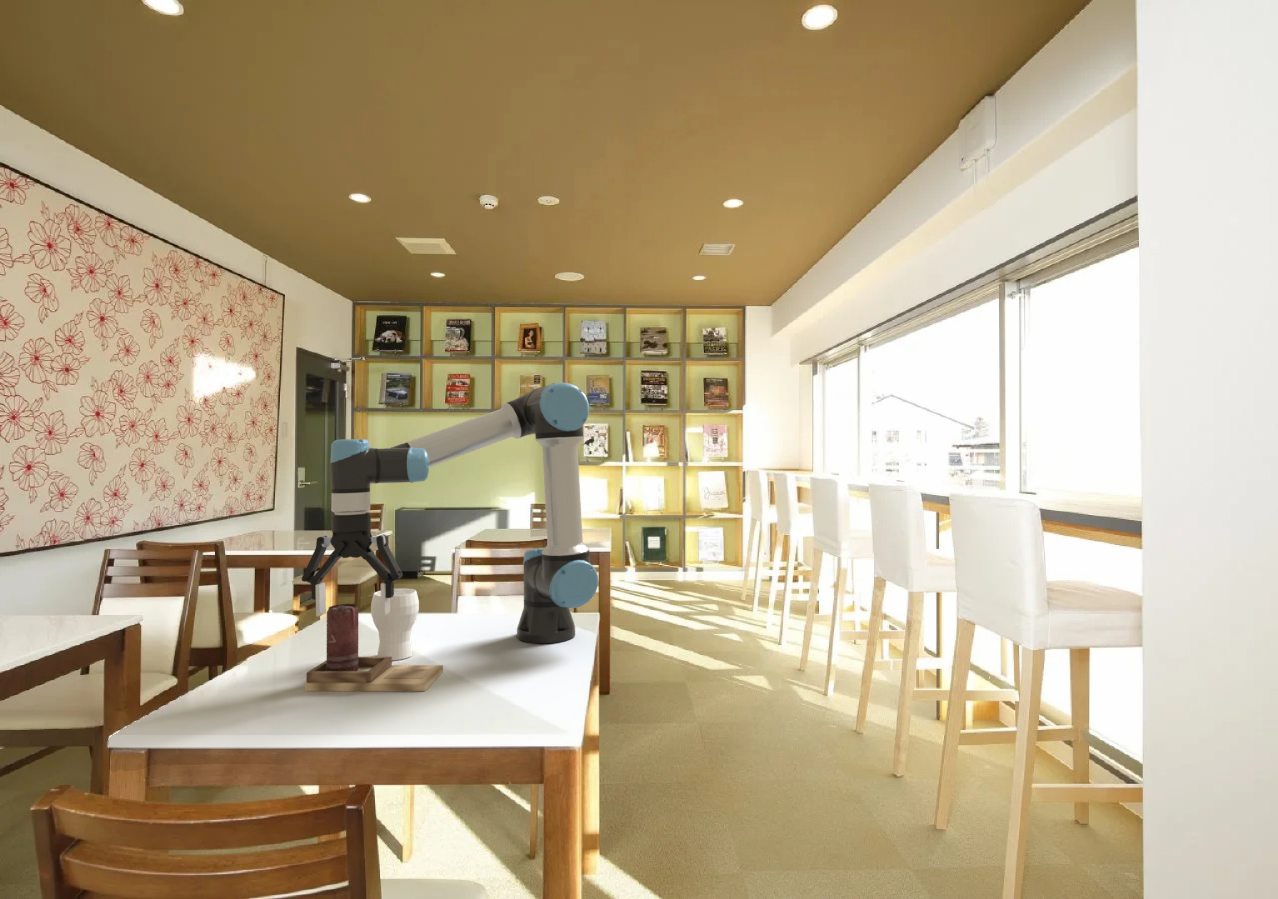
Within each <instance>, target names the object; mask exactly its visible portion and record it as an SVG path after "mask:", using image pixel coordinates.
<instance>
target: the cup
mask: <svg viewBox="0 0 1278 899" xmlns="http://www.w3.org/2000/svg"><path fill="white" fill-rule="evenodd" d="M419 605H420V600H419V596H418V592H417V590H416V589H413V588H394V595H393V597H391V598H390V612H389V613H387V614H386V615H381V590H378V591H375V592H373V595H372V599H371V603H370V614H371V618H372V621H373V624H374V626H375V627H376V630H377V632H378V638H379V639H378V640H379V643H378V650H377V656H376V657H392V661H399V660H405V659H408V658H410V657H411V656H413V648H412V647H413V646H412V642H411V636H412V629H413V626H414V625H415V623H416V622H417V621H416V620H417V619H418V618H417V617H418V614H419V611H420V606H419Z"/></svg>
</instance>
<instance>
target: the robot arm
mask: <svg viewBox="0 0 1278 899" xmlns="http://www.w3.org/2000/svg"><path fill="white" fill-rule="evenodd" d="M589 415H590V404H589V400H588V398H587V396H586V394H585V393H584V392H583V391H582V389H580V388H579V387H578V386H577V385H575V384H572V383H569V382H555V383H553V382H552V383H551V384H548V385H545V386H542V387H538V388H535V389H532V390H531V391H529V392H526V393H525V394H523V395H521V396H520V397H517V398H515V399H513V400H510V401H507V402H505V403H503V404H502V407H501V408H499V409H497V410H494V411H492V412H488V413H485V414H482V415H480V416H477V417H474V418H471V419H468V420H466V421H463V422H461V423H460V422H459V423H457V424H454V425H451V426H448V427H446V428H445V427H444V428H443V429H439V430H437V431H434V432H431V433H428V434H426V435H423V436H420V437H417V438H413V439H411V440H409V441H406V442H404V443H400V444H397V445H394V446H392V447H387V448H373V447H371V445H370V441H369V440H368V439H366V438H365V439H362V438H360V439H359V438H358V439H353V438H351V439H350V438H349V439H348V438H347V439H342V438H341V439H336V440H334V441H333V442H332V443H331V445H330V484H331V485H330V486H331V487H330V488H331V490H330V491H331V500H330V501H331V505H330V507H331V512H332V513H334V514H333V515H332V516H331V532H332V536H331V537H328V536H327V535H321V536H318V537H317V538H316V542H315V543H316V544H315V549H314V551H313V553H312V555H311V558H310V560H309V561H308V563H307V566H306V568H305V570H304V573H303V575H302V577H301V581H302V582H307V583H309V584H310V585H311V598H312V600H315V616H316V617H321V616H323V615H326V614H327V606H326V605H327V604H326V602H327V599H326V597H327V596H326V582H323V580H324V578H325V577H326V576H327V574H328V573H329V572H330V571H331V570H332V568H333V567H334V566H335V565H336V564H337V562H338V561H339V560H340V559H341V558H343V559H348V558H353V559H357V558H362V559H363V560H365V561H366V562H367V563H368V565H369V566H370V567H371V568H372V569H373V571H375V573H376V574H377V575H378V576H379V577H380V578H381V579H382V580H383V582H381V583H380V591H381V615H386V614H387V613H389V612H390V598H391V597H393V595H394V589H395V587H394V586H395V585H394V583H395V581H397V580H399V579H401V578H403V575H404V574H403V572H402V570H401V568H400V565H399V564H398V562H397V560H396V558H395V556H394V555H393V552H392V551H391V549H390V547H389V545H388V538H387V535H386V534H385V533H384V534H381V535H377V536H373V535H372V532H371V530H372V520H371V519H372V518H371V517H372V516H371V515H372V514H370V512H369V511H370V510H371V484H395V483H396V484H397V483H398V484H399V483H402V484H403V483H411V484H413V483H418V482H424V481H426V480H427V479H428V477H429V473H430V472H429V471H430V468H431V467H434V466H437V465H440V464H442V463H445V462H449V461H450V460H453V459H456V458H458V457H461V456H464V455H466V454H469V453H473V452H475V451H478V450H480V449H483V448H486V447H488V446H491V445H493V444H496V443H499V442H501V441H504V440H507V439H510V438H515V439H518V440H519V439H521V438H523V437H526V436H530V435H534V434H535V436H534V437H535V441H536V442H537V443H538V444H539V445H540V446H541V447H542V448H541V449H542V464H543V465H542V466H543V480H544V481H543V482H544V498H545V499H544V502H545V519H546V520H545V521H546V540H547V541H546V542H547V544H546V546H545V547H544V548H532V549H527V550H526V551H525V552H524V554H523V561H522V565H523V608H522V611H521V615H520V618H519V621H518V624H517V626H516V627H517V628H516V639H517V640H519V641H522V642H525V643H529V644H530V643H531V644H553V643H560V642H565V641H568V640H571V639H573V638H574V637H576V625H575V622H574V619H573V616H572V613H571V609H577V608H581V607H583V606H584V605H586V604H588V603H589V602H590V601H591V600H592V598H593V597H594V596H595V594H596V592H597V589H598V588H599V587H598V586H599V576H598V572H597V570H596V568H595V567H594V565H592V564H591V560H590V559H591V558H590V557H591V556H590V555H591V554H590V548H589V547H588V546H587V544H585V542H583V525H582V524H583V523H582V507H581V506H582V505H581V504H582V502H581V484H580V483H581V482H580V467H579V466H580V465H579V450H578V449H579V448H578V446H579V444H580V443H581V441H582V440H583V439H584V424H585V423H586V422H587V420H588V418H589ZM372 544H374V546H375V547H377V550H378V552H379V554H380V556H381V557H382V560H383V561H384V563H385V564H384V563H383V562H382V561H381V560H380V559H379V557H377V555H376V554H375V552H374V550H373V549H372V548H371V546H372ZM330 545H331V546H332V548H334V549H333V551H332V552H331V553H330V554H329V555H328V556H329V557H328V559H326V561H325V562H324V563H323V564H322V565H321V567H320V568H319V569H318V567H319V566H320V564H321V561H322V559H323V558H324V555H325V553H326V551H327V548H328V547H329V546H330ZM385 565H386V566H385ZM317 570H318V571H317ZM316 571H317V572H316Z"/></svg>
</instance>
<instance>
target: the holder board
mask: <svg viewBox="0 0 1278 899" xmlns="http://www.w3.org/2000/svg"><path fill="white" fill-rule="evenodd" d="M326 666H327V659H326V660H324V661H323V662H321V663H320V664H318V665H317V666H315V667H314V668H312V669H310V670H309V671H307V672H306V682H305V683H304V684H305V685H304V689H305V690H304V691H305V692H426V691H427V689H428V688H430V686H431V685H432V684H434V682H435V681H436V680H437V679H438V678H439V677H440V676H441V675H442V674H443V673H444V665H443V664H442V665H441V664H437V665H436V664H435V665H433V664H432V665H430V664H429V665H427V664H426V665H425V664H420V665H418V664H417V665H416V664H415V665H414V664H413V665H411V664H408V665H407V664H405V665H403V664H402V665H401V664H399V665H398V664H393V660H392V657H377V656H358V671H326Z"/></svg>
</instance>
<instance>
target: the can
mask: <svg viewBox="0 0 1278 899" xmlns="http://www.w3.org/2000/svg"><path fill="white" fill-rule="evenodd" d="M358 657H359V608H358V606H357V604H353V603H343V604H335V605H331V606H328V609H327V610H326V660H327V666H326V671H358Z"/></svg>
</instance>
